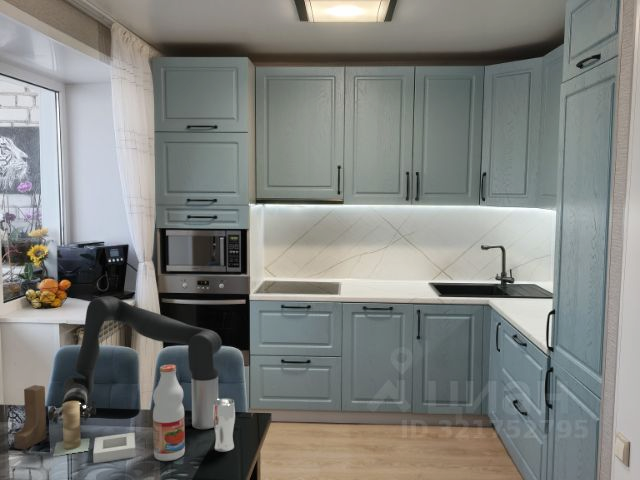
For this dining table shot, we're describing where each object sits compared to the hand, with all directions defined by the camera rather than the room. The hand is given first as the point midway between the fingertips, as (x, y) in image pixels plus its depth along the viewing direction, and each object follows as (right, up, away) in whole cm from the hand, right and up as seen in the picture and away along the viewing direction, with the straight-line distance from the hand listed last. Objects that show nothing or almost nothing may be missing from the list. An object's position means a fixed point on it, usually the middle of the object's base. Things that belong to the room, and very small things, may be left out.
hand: (70, 418), depth 172 cm
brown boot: (-15, -10, +5) cm, 19 cm away
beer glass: (+49, -10, +2) cm, 50 cm away
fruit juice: (+32, -10, -3) cm, 34 cm away
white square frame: (+15, -10, -1) cm, 18 cm away
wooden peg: (0, -9, +2) cm, 10 cm away
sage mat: (0, -10, +2) cm, 10 cm away
